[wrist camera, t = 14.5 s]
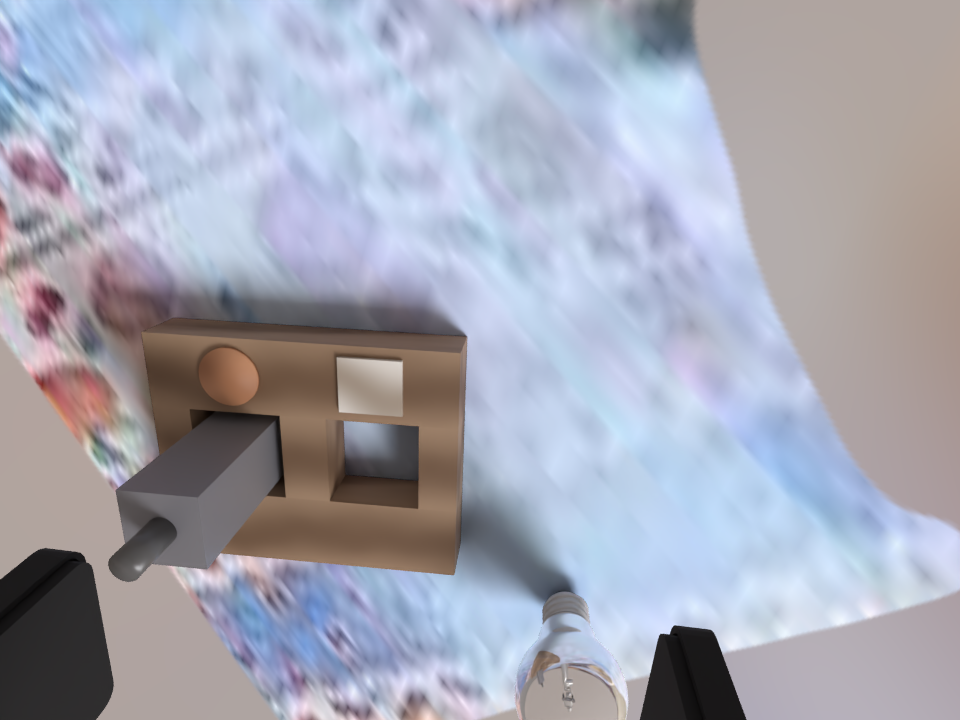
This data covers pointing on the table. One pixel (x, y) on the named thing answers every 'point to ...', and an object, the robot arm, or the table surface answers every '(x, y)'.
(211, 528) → the plug
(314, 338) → the socket block
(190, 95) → the table surface
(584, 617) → the light bulb
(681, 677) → the robot arm
